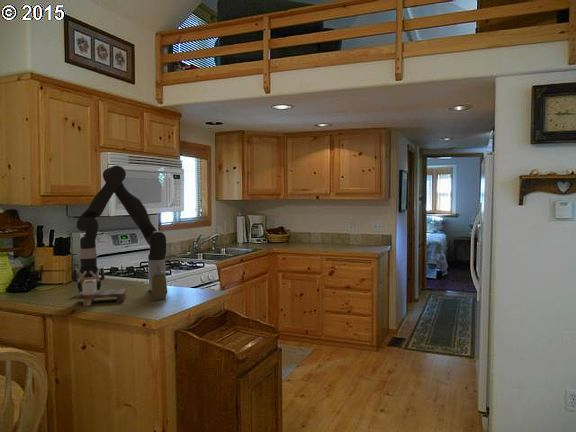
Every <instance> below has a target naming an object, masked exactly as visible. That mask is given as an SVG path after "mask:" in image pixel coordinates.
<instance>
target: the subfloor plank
mask: <svg viewBox="0 0 576 432" xmlns="http://www.w3.org/2000/svg"><path fill="white" fill-rule="evenodd" d="M126 294H127V288H118V289H116V288H114V289H100V290H97V291H96V292H95V293H94V295H83V293H82V291H81V292H80V293H79V292H78V294H77V295H76V297H75V300H76V301H77V300H82V303H83V304H82V306H83V307H88V306H91V305H92V304H93V302H95V300H96V299H107V298H116V303H124V301H125V299H126V296H127V295H126Z"/></svg>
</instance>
